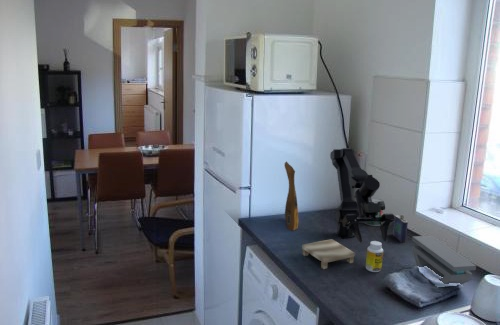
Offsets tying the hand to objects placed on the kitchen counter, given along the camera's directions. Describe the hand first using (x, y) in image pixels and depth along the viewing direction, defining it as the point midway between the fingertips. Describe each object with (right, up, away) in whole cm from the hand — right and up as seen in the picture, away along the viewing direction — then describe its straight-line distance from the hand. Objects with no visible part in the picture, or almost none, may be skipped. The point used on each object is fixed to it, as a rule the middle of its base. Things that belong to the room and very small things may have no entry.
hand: (373, 241), depth 164 cm
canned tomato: (+12, 0, +47) cm, 48 cm away
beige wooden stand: (-15, -8, +7) cm, 19 cm away
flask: (+19, -4, +29) cm, 35 cm away
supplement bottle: (0, -10, 0) cm, 10 cm away
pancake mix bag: (-27, 0, +41) cm, 49 cm away
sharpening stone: (+21, -12, -6) cm, 25 cm away
